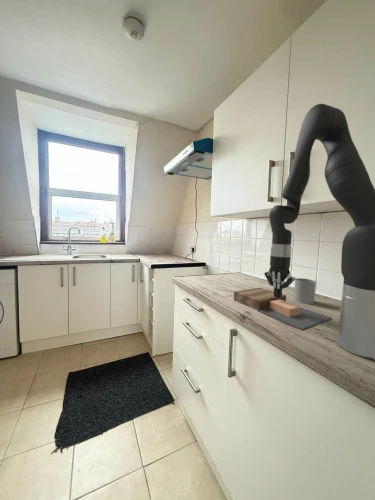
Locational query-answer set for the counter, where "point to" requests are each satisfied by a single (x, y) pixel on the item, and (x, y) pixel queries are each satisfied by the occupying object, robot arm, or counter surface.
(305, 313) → the mat
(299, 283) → the cup
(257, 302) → the block
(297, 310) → the orange rectangular block
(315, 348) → the counter surface
